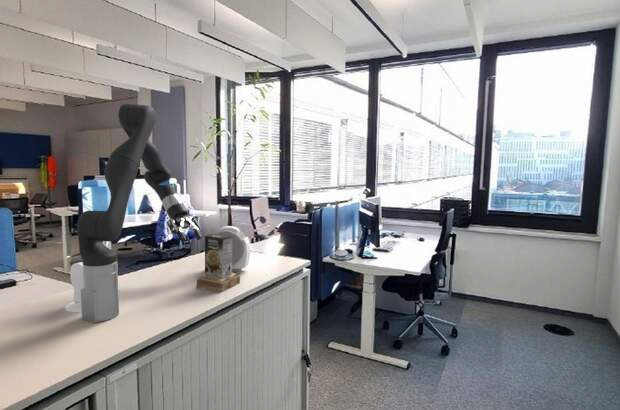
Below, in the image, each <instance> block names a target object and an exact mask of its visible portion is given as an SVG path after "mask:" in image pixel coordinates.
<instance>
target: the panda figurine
mask: <svg viewBox="0 0 620 410" xmlns="http://www.w3.org/2000/svg"><path fill="white" fill-rule="evenodd" d="M69 265H70V266H71V267H70V273H69V275H70V277H69V278H70V281H71V284H72V286H73V301H71V302H69V303H68V304H66V306H65V307H64V310H65V311H66V312H67V313H76V314H77V313H82V308H81V289H83V288H84V280H83V260H82V258H78V259H74V260H73V259H72V260H70V262H69Z"/></svg>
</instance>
